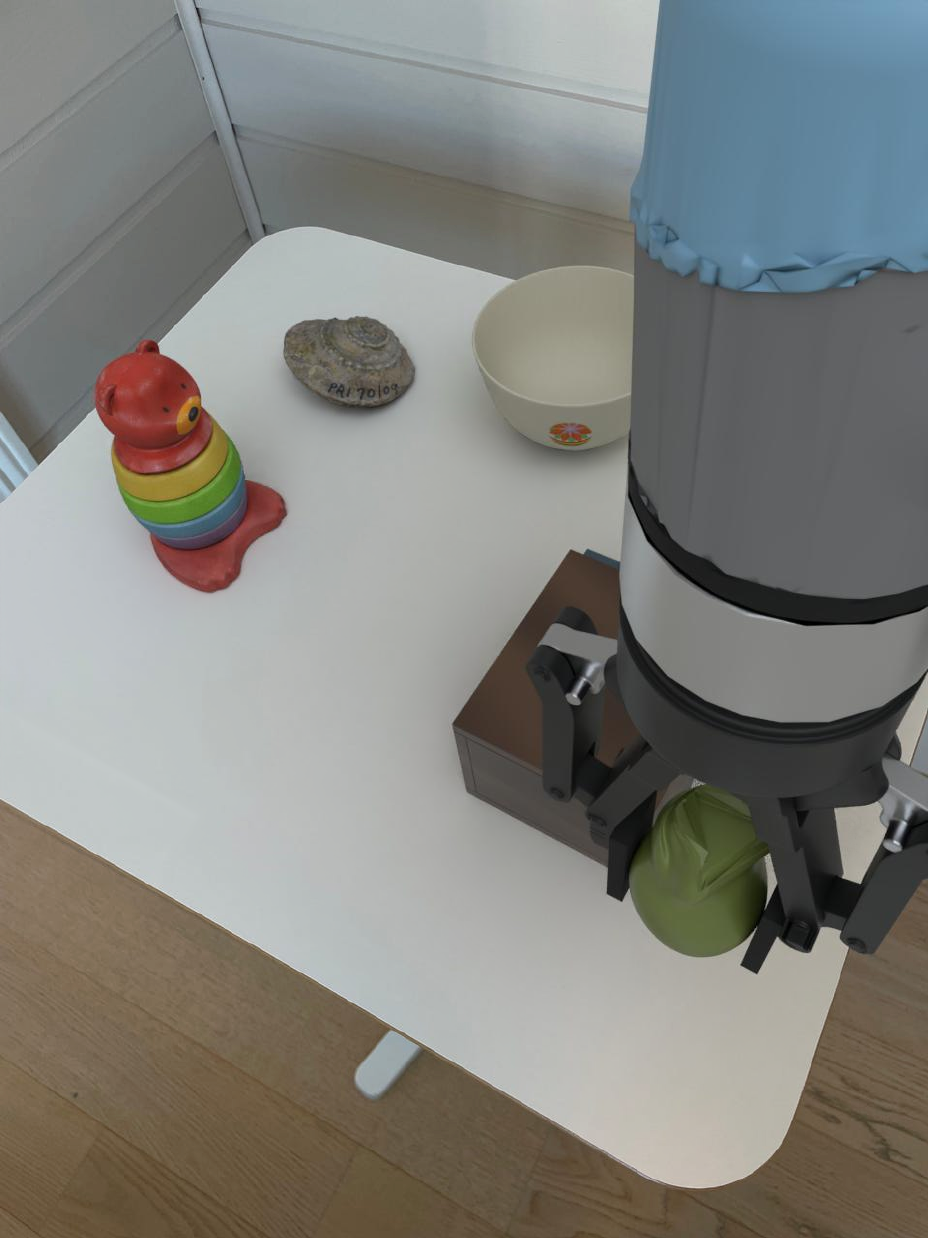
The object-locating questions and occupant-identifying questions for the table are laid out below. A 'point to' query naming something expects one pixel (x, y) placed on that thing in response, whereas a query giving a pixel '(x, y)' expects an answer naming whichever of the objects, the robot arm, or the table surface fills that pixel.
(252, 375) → the table surface
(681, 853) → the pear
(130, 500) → the stacking bear
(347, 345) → the fossilized seashell
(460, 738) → the cabinet
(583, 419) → the bowl
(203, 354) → the table surface
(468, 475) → the table surface
